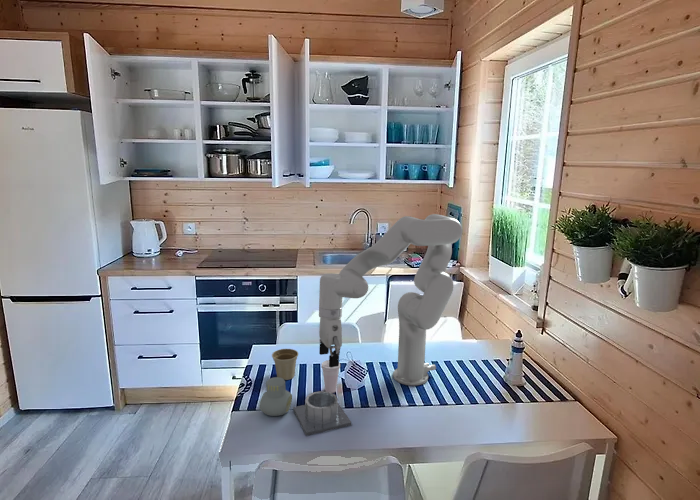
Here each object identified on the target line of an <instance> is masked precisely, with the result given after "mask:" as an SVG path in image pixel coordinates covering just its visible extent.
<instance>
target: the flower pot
mask: <svg viewBox="0 0 700 500" xmlns="http://www.w3.org/2000/svg"><path fill="white" fill-rule="evenodd" d="M271 357H272V359H273V362H274V366H275V373H276V377H280V378H283V379H284V380H285V381H288V380H292V379H293V378H294V377H295V373H296V367H297V366H296V364H297V359H298V357H299V352H298V351H297V350H296V349H293V348H281V349H277V350H274V351H273V352H272V354H271Z"/></svg>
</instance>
